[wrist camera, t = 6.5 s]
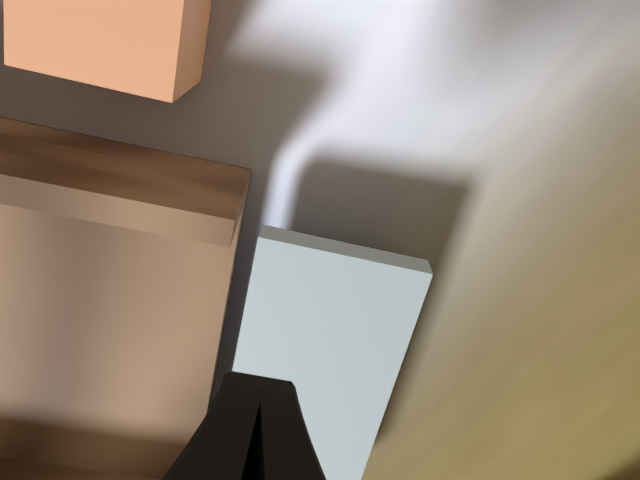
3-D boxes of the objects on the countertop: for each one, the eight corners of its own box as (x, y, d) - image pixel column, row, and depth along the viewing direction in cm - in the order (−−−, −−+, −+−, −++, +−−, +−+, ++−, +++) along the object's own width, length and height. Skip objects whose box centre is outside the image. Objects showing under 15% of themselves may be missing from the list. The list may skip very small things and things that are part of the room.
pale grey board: (206, 503, 20) (343, 527, 21) (257, 237, 16) (433, 274, 16) (214, 469, 22) (343, 493, 22) (264, 217, 17) (424, 252, 18)
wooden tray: (-90, 427, 22) (-181, 524, 18) (-130, 90, 16) (-276, 119, 12) (198, 468, 23) (175, 568, 19) (251, 169, 18) (234, 220, 14)
